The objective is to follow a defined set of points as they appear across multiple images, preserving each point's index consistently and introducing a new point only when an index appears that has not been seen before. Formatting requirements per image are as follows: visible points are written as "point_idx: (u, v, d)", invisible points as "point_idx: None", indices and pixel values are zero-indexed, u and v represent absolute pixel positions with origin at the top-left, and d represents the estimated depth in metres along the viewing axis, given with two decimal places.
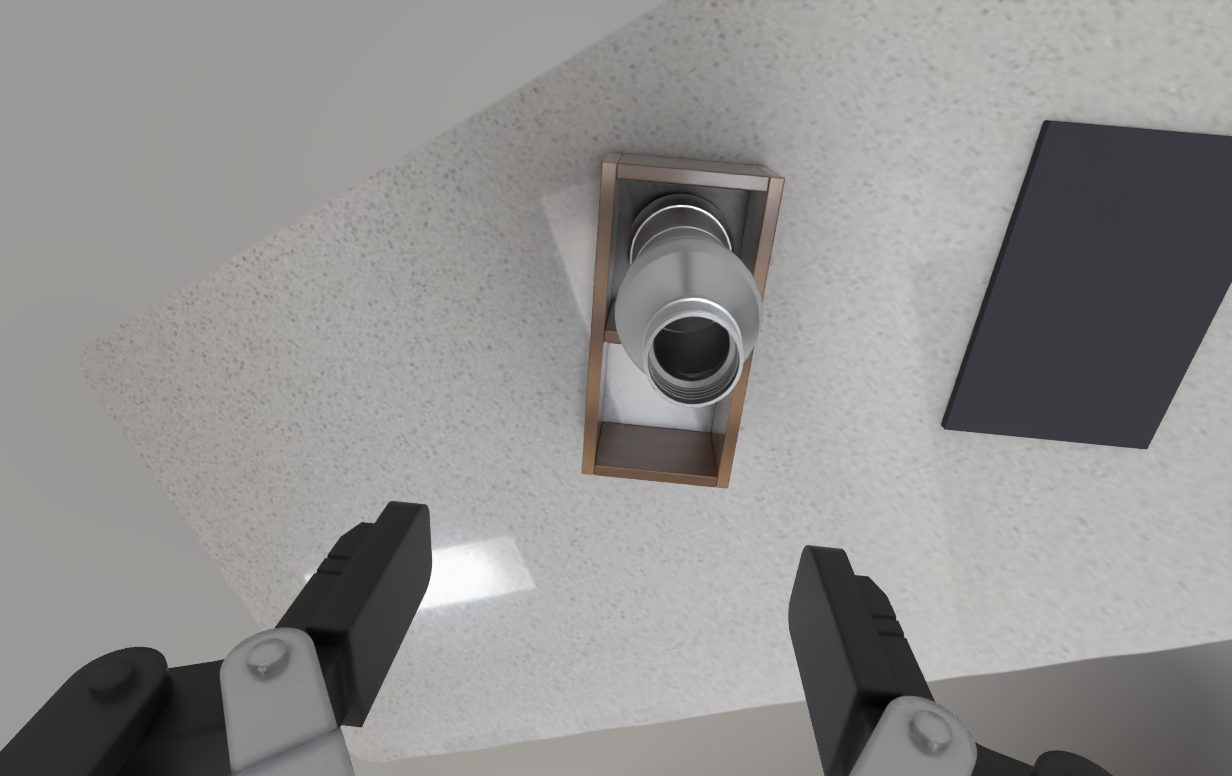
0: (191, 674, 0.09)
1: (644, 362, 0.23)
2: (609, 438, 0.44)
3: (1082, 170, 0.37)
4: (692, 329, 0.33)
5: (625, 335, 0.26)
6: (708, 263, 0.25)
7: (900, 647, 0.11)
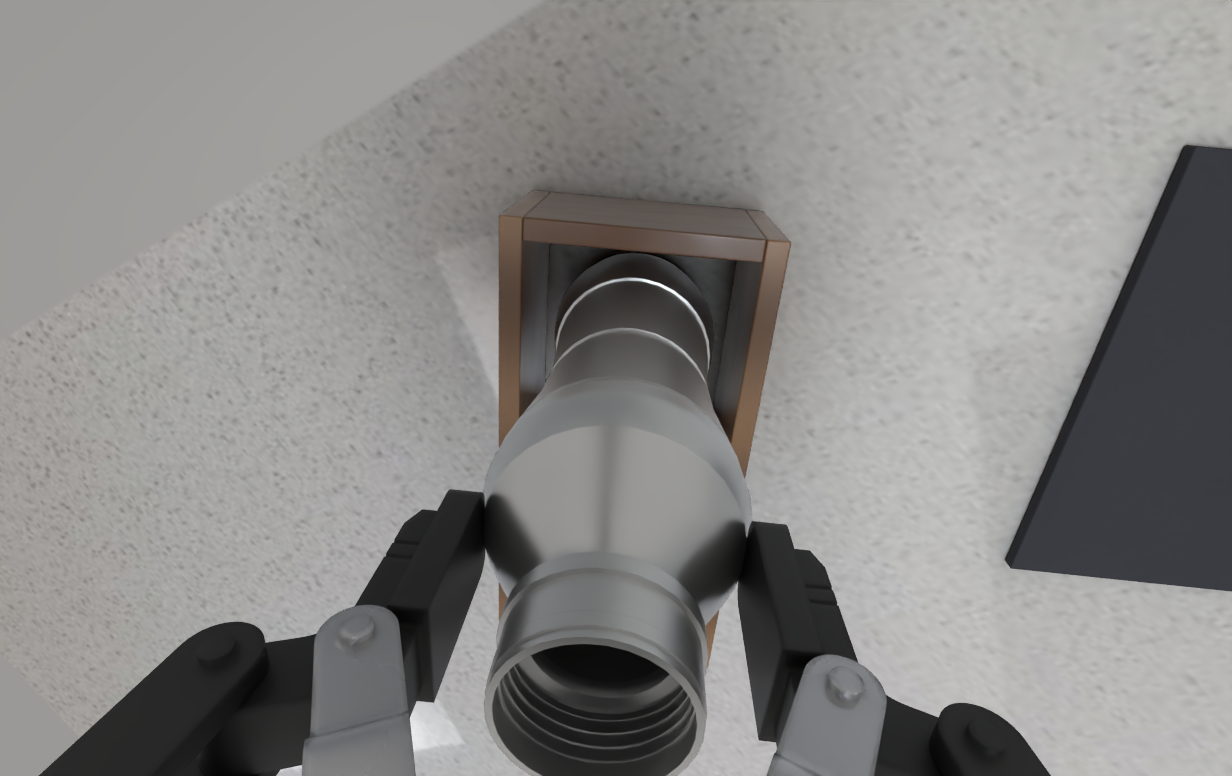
0: (282, 650, 0.10)
1: (487, 716, 0.10)
2: None
3: None
4: None
5: (494, 569, 0.14)
6: (643, 454, 0.12)
7: (831, 614, 0.11)
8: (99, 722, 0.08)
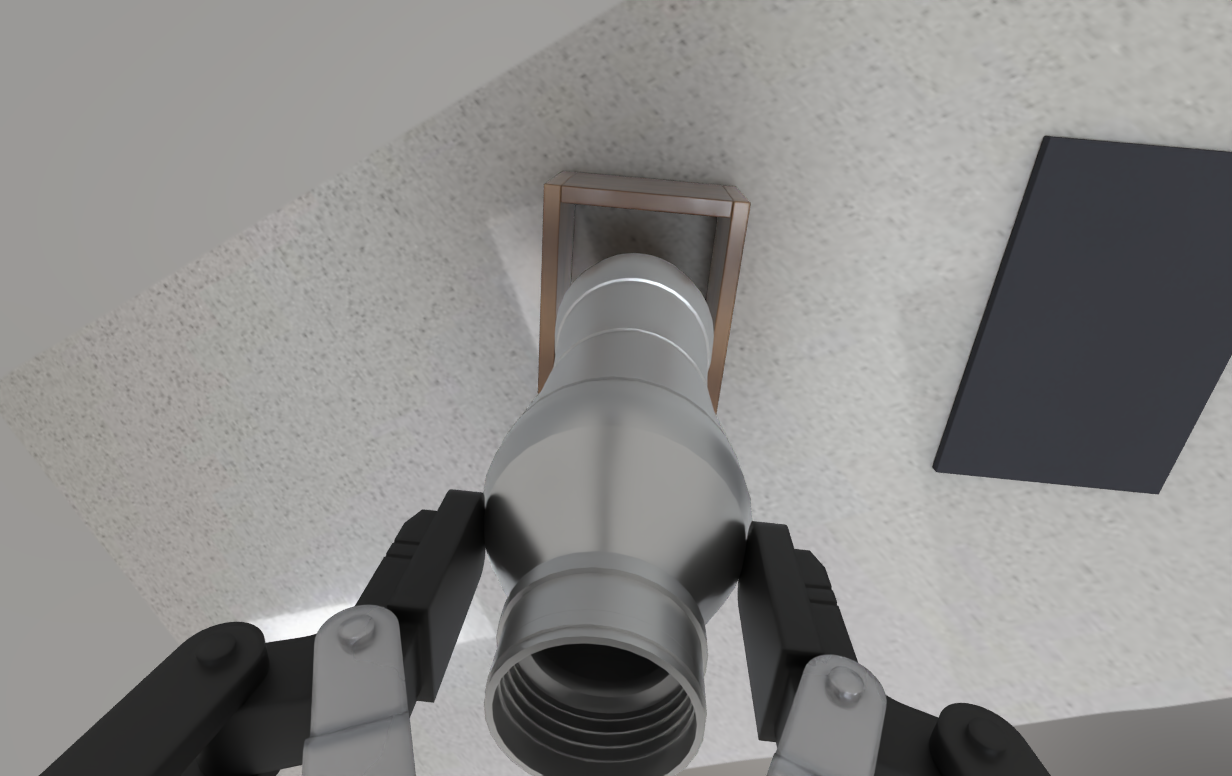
0: (283, 650, 0.10)
1: (488, 715, 0.10)
2: None
3: (1086, 191, 0.33)
4: None
5: (494, 569, 0.14)
6: (643, 454, 0.12)
7: (832, 614, 0.11)
8: (99, 722, 0.08)
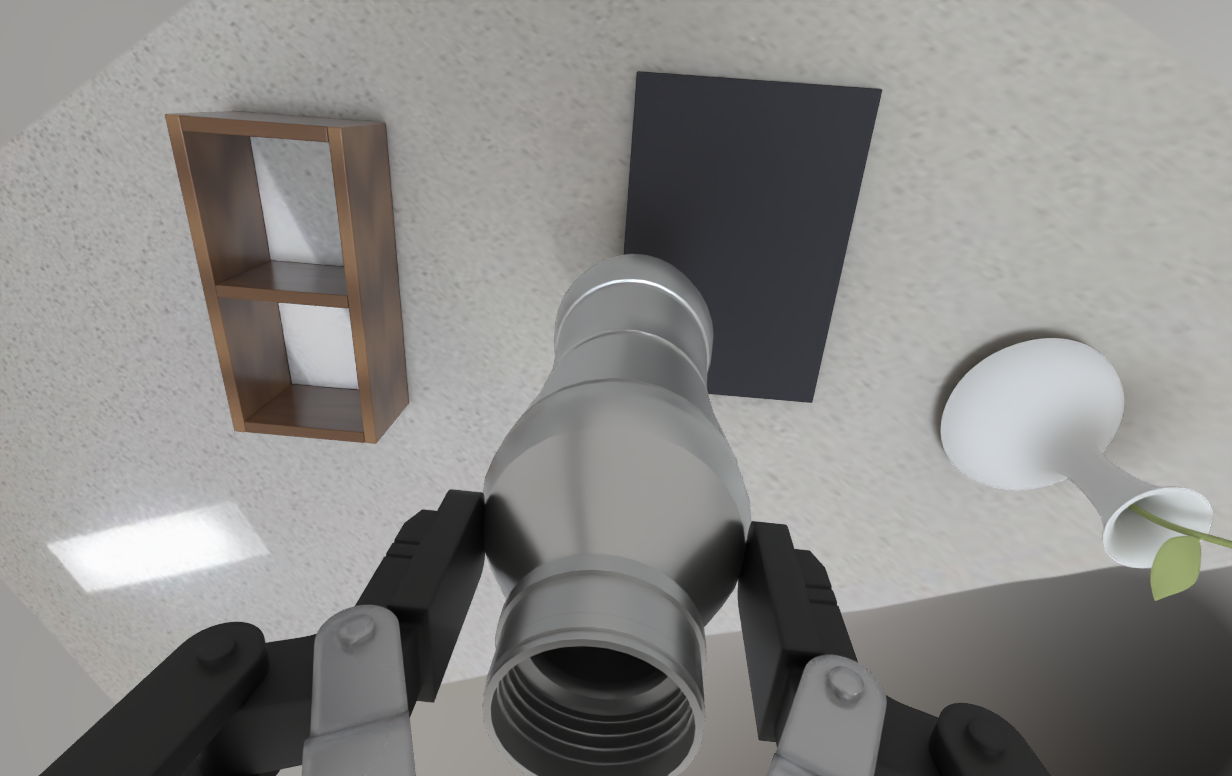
0: (283, 650, 0.10)
1: (486, 718, 0.10)
2: (284, 398, 0.45)
3: (679, 120, 0.37)
4: None
5: (493, 570, 0.14)
6: (642, 456, 0.12)
7: (832, 614, 0.11)
8: (99, 722, 0.08)
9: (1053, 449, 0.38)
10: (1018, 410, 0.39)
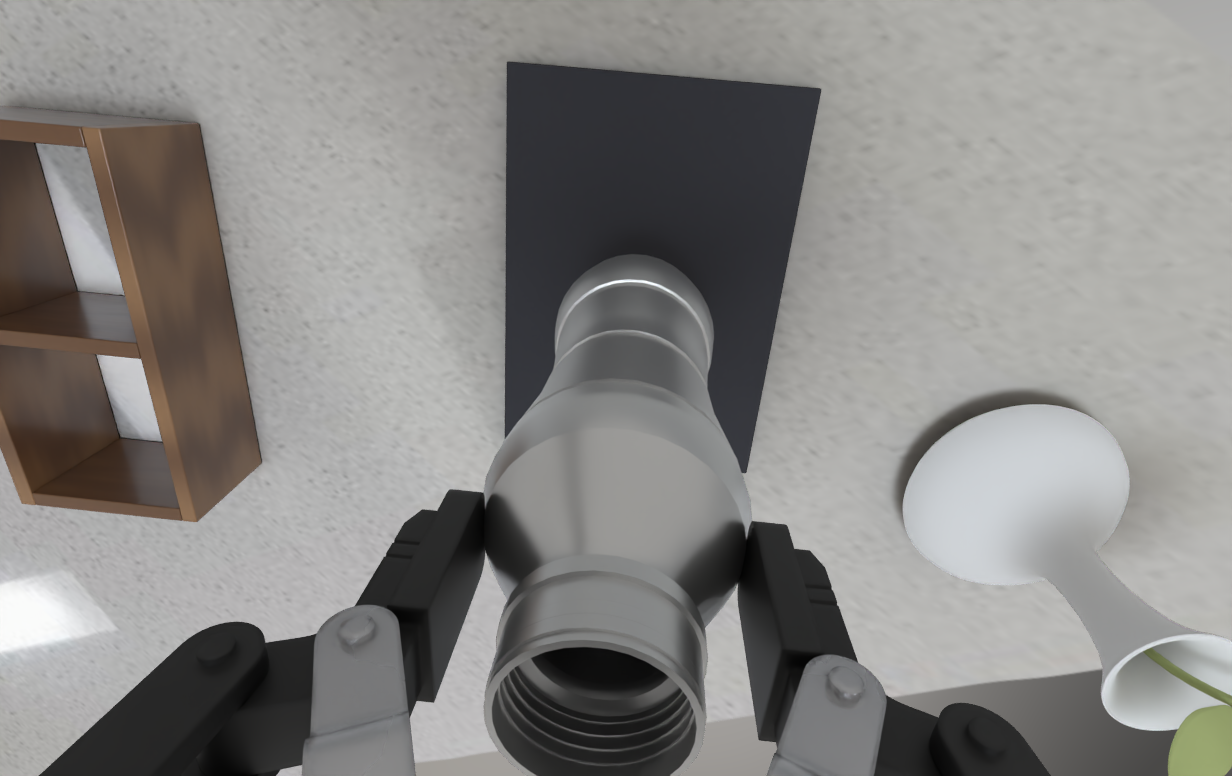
0: (282, 650, 0.10)
1: (487, 718, 0.10)
2: (100, 458, 0.37)
3: (565, 125, 0.29)
4: None
5: (494, 571, 0.14)
6: (643, 457, 0.12)
7: (832, 614, 0.11)
8: (99, 722, 0.08)
9: (1039, 550, 0.30)
10: (996, 496, 0.31)
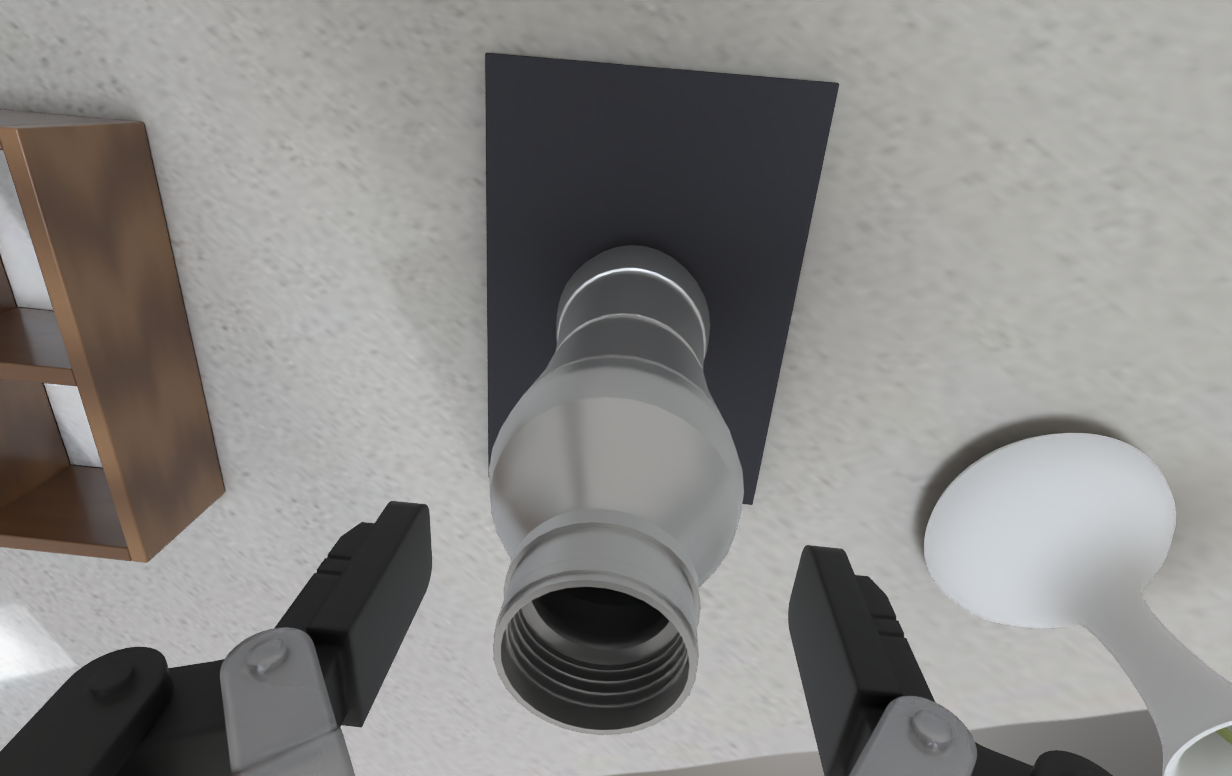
0: (192, 675, 0.09)
1: (496, 658, 0.11)
2: (45, 489, 0.33)
3: (551, 124, 0.26)
4: None
5: (500, 535, 0.15)
6: (640, 423, 0.13)
7: (900, 647, 0.11)
8: None
9: (1080, 598, 0.27)
10: (1031, 536, 0.28)
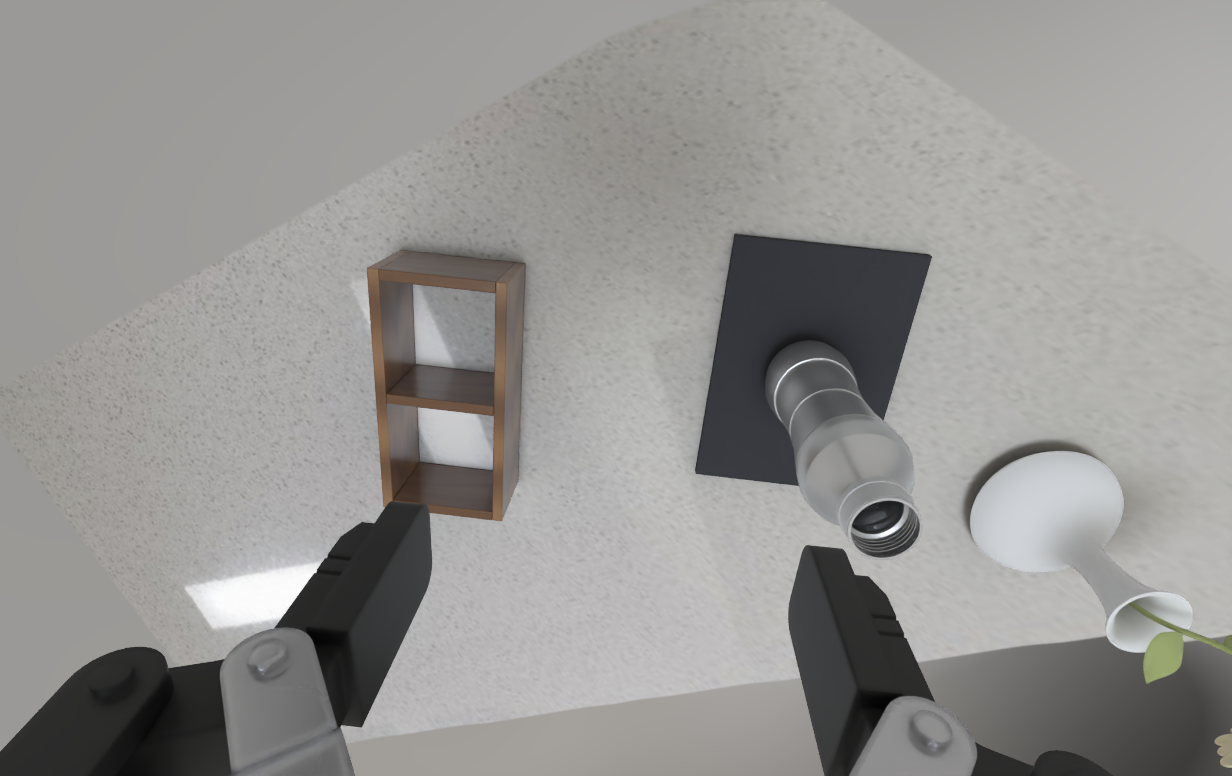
0: (191, 675, 0.09)
1: (848, 528, 0.31)
2: (417, 477, 0.53)
3: (767, 272, 0.46)
4: None
5: (811, 491, 0.35)
6: (882, 444, 0.33)
7: (900, 647, 0.11)
8: None
9: (1065, 546, 0.46)
10: (1036, 511, 0.48)
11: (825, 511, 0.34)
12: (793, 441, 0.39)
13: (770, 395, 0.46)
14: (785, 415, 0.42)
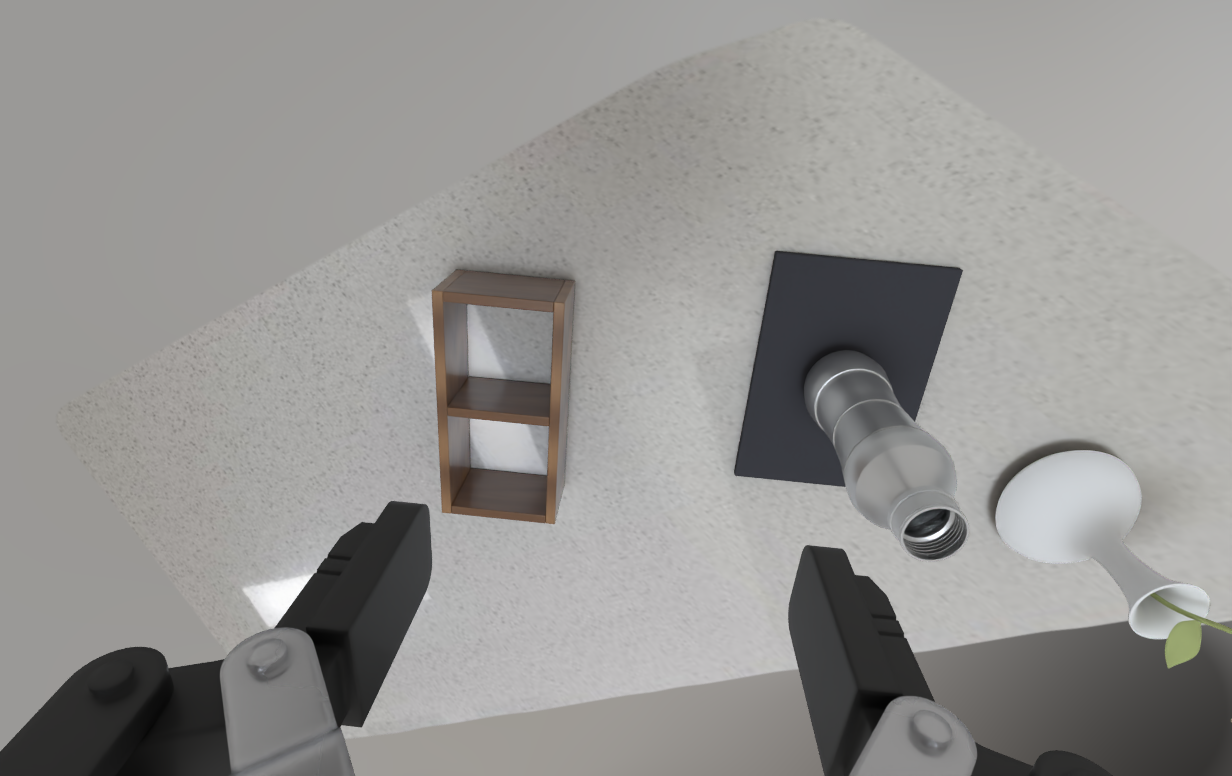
0: (191, 675, 0.09)
1: (900, 534, 0.34)
2: (471, 482, 0.56)
3: (806, 287, 0.49)
4: None
5: (861, 497, 0.38)
6: (928, 455, 0.36)
7: (900, 647, 0.11)
8: None
9: (1088, 540, 0.49)
10: (1060, 507, 0.51)
11: (874, 516, 0.37)
12: (838, 449, 0.42)
13: (810, 403, 0.48)
14: (828, 423, 0.45)
